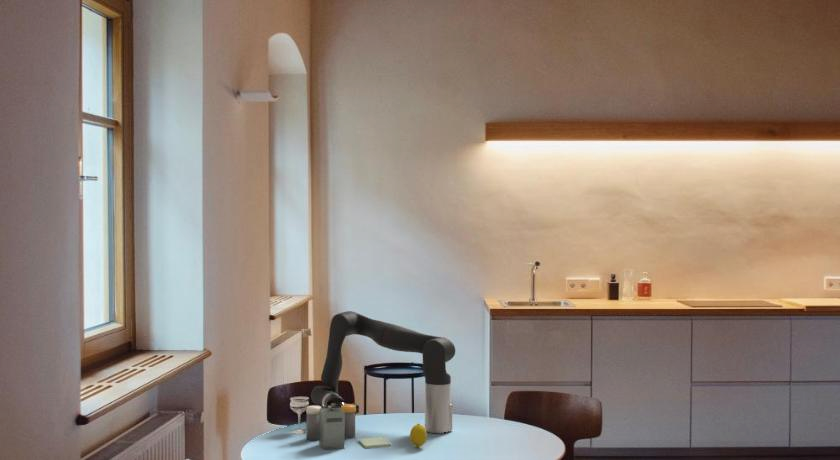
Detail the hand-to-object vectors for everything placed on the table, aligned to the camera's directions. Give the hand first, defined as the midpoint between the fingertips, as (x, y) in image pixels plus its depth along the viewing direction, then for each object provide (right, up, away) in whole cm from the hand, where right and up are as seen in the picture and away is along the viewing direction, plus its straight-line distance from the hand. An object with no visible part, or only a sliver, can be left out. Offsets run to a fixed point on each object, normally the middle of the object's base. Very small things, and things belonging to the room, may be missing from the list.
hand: (343, 413), depth 280 cm
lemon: (+27, -7, -21) cm, 35 cm away
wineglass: (-16, -7, -1) cm, 17 cm away
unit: (-2, -6, -20) cm, 21 cm away
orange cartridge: (+3, -6, -8) cm, 11 cm away
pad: (+12, -6, -16) cm, 21 cm away
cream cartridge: (-9, -6, -11) cm, 16 cm away
